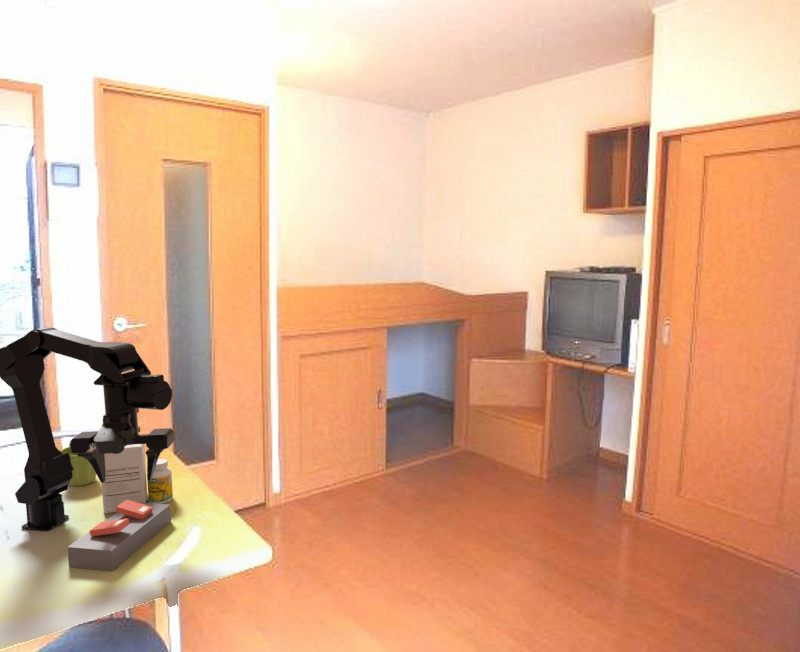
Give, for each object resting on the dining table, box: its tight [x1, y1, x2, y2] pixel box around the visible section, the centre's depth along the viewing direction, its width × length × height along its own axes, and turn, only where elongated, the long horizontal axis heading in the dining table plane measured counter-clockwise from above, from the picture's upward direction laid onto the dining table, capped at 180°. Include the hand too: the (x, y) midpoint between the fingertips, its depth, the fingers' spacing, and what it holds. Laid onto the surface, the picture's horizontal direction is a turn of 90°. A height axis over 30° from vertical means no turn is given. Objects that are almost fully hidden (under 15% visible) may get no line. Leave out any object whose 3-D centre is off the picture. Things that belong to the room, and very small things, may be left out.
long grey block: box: [67, 502, 172, 572], centre depth 120 cm, size 9×24×4 cm, turn 171°
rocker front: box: [88, 518, 130, 536], centre depth 113 cm, size 6×4×1 cm, turn 81°
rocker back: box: [115, 499, 153, 520], centre depth 121 cm, size 6×4×1 cm, turn 81°
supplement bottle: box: [146, 458, 174, 504], centre depth 138 cm, size 5×5×10 cm
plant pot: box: [60, 446, 97, 487], centre depth 148 cm, size 9×9×9 cm
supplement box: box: [101, 444, 148, 515], centre depth 135 cm, size 9×9×15 cm
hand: (126, 481), depth 119 cm, fingers open, 9 cm apart
